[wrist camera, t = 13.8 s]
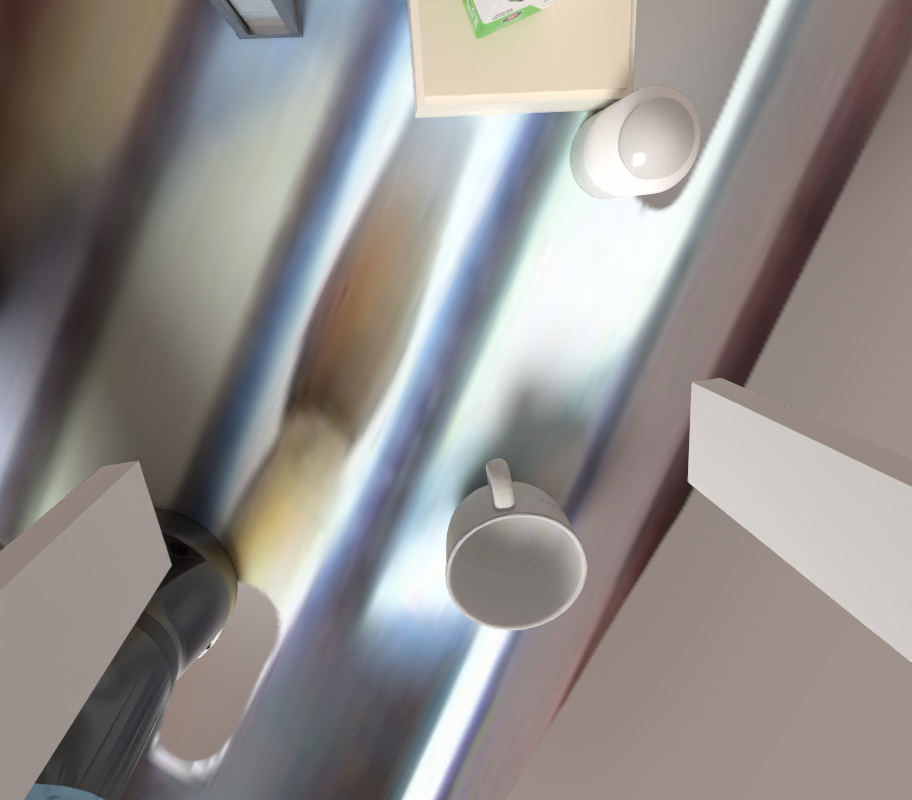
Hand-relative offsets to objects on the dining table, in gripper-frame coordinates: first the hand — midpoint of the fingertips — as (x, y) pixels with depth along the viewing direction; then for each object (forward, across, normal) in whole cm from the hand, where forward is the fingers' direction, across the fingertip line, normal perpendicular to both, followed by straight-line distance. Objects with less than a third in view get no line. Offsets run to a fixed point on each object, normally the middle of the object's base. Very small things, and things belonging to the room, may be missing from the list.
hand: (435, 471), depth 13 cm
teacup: (+30, +7, -18) cm, 36 cm away
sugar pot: (+29, +17, +9) cm, 35 cm away
